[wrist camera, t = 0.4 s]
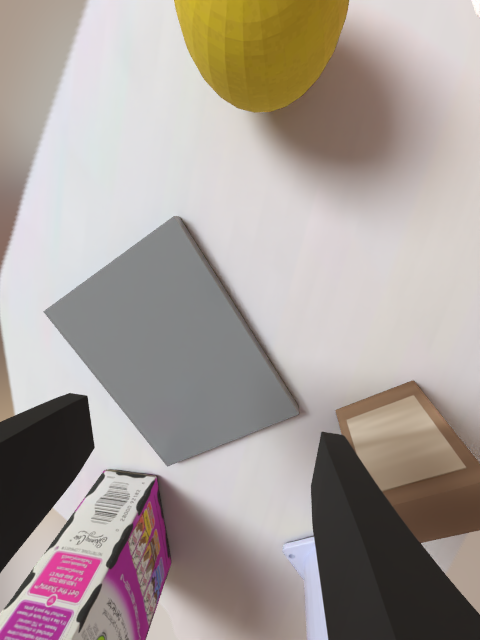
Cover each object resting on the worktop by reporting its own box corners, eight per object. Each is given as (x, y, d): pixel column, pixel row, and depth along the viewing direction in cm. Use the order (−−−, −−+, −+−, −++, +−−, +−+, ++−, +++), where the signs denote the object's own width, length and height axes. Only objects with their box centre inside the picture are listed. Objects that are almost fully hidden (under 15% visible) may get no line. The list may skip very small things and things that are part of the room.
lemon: (303, -47, 12) (336, -519, 4) (347, 96, 13) (431, -69, 6) (190, 36, 13) (64, -204, 6) (240, 157, 15) (191, 91, 7)
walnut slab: (428, 410, 18) (512, 523, 11) (351, 437, 19) (385, 550, 13) (413, 379, 17) (491, 478, 11) (335, 409, 19) (361, 512, 12)
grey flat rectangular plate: (298, 406, 19) (299, 414, 18) (171, 458, 22) (167, 466, 21) (179, 216, 16) (173, 216, 15) (52, 308, 19) (43, 311, 18)
